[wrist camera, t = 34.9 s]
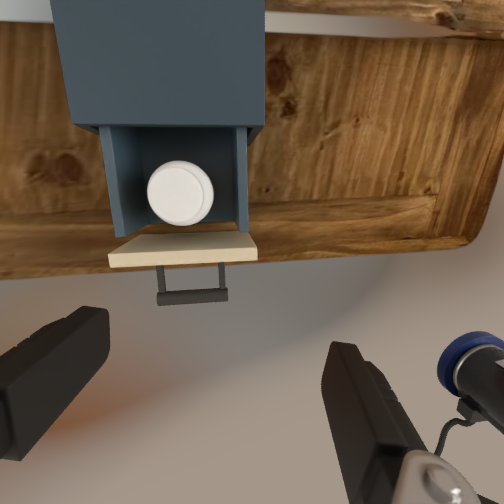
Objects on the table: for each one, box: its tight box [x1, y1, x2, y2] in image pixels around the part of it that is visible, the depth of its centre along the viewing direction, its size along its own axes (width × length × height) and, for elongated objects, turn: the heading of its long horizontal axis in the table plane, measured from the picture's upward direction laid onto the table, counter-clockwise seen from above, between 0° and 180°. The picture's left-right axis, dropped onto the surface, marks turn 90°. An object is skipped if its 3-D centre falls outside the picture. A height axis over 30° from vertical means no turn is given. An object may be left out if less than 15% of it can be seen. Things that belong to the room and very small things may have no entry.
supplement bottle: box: [147, 161, 215, 226], centre depth 23 cm, size 5×5×10 cm
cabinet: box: [50, 0, 265, 146], centre depth 22 cm, size 16×14×11 cm
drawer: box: [99, 126, 257, 306], centre depth 25 cm, size 20×12×9 cm, turn 1°
